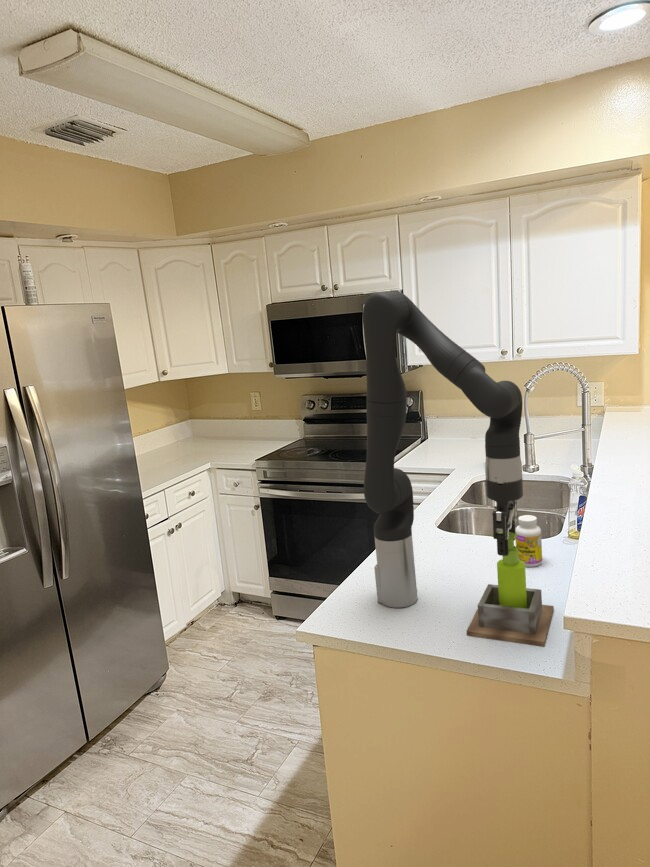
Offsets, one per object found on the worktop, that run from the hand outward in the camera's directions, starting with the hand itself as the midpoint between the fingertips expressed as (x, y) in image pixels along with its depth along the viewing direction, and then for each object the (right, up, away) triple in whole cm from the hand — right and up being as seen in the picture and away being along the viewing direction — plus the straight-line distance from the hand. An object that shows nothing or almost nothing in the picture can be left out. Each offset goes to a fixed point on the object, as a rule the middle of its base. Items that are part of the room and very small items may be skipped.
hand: (506, 547), depth 131 cm
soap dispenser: (+2, -17, +3) cm, 17 cm away
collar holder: (+2, -17, +3) cm, 18 cm away
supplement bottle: (+16, -11, +32) cm, 38 cm away
